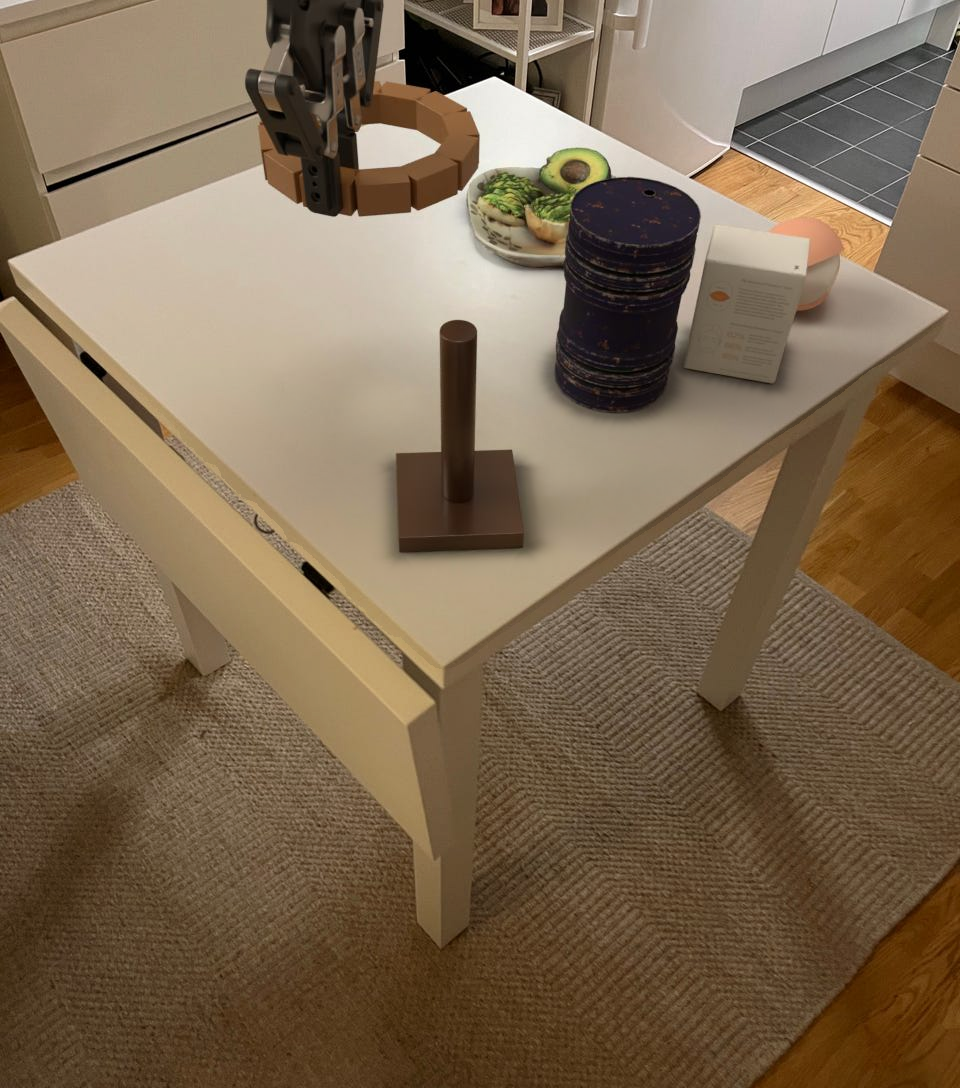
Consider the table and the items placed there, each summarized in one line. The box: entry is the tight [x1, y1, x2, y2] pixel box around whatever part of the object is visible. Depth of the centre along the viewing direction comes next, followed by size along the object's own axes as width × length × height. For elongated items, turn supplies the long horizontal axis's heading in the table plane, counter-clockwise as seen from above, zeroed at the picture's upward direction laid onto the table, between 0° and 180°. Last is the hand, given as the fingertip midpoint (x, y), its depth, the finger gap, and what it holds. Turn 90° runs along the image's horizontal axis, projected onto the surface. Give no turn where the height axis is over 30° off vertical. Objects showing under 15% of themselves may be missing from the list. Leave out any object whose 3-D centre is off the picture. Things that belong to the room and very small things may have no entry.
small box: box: [683, 223, 810, 384], centre depth 83 cm, size 8×6×10 cm
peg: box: [395, 319, 525, 553], centre depth 69 cm, size 9×9×16 cm
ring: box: [257, 80, 481, 218], centre depth 65 cm, size 14×14×2 cm
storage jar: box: [553, 176, 702, 414], centre depth 79 cm, size 10×10×15 cm
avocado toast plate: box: [465, 147, 617, 268], centre depth 97 cm, size 19×18×5 cm
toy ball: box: [768, 216, 845, 312], centre depth 89 cm, size 8×8×8 cm
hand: (333, 200), depth 62 cm, fingers closed on ring, 2 cm apart
